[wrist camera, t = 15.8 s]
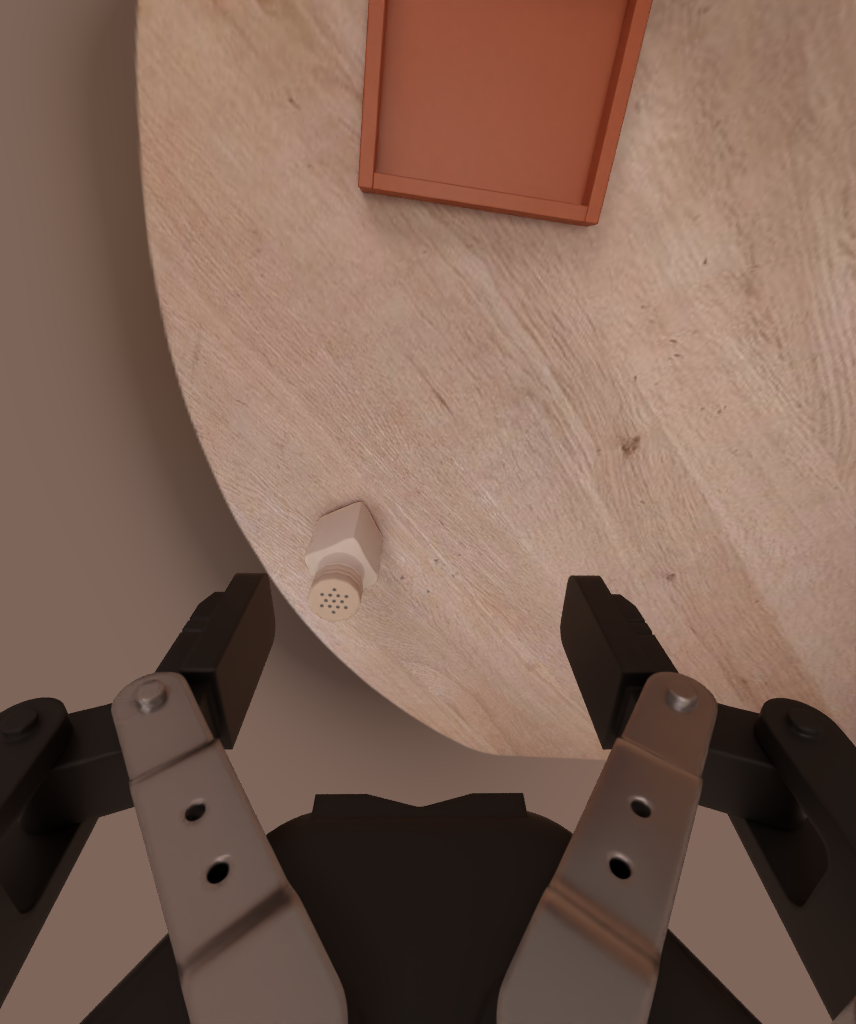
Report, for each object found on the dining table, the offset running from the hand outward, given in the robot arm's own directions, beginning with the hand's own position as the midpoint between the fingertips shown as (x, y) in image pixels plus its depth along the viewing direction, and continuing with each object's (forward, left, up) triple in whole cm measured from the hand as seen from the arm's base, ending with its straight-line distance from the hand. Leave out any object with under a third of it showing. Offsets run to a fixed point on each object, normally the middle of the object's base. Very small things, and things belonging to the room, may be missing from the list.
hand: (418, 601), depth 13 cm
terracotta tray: (+2, +17, -23) cm, 29 cm away
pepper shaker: (-4, -11, -24) cm, 26 cm away
